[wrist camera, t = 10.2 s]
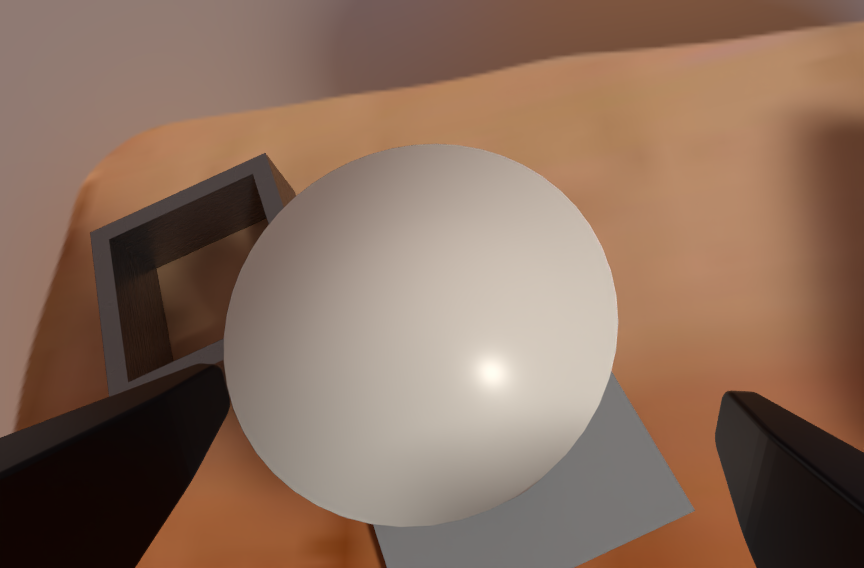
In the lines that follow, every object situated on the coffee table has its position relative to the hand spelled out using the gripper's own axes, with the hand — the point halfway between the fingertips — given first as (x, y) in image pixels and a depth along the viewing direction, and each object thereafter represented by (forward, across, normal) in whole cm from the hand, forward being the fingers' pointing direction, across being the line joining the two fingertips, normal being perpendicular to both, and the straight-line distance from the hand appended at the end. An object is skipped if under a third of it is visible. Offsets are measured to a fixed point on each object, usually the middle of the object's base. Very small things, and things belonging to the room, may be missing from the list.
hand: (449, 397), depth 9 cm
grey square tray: (+11, +12, +3) cm, 17 cm away
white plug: (+7, 0, +6) cm, 10 cm away
